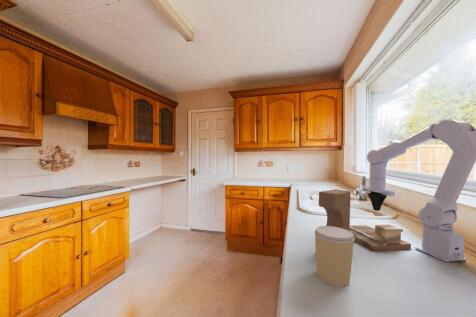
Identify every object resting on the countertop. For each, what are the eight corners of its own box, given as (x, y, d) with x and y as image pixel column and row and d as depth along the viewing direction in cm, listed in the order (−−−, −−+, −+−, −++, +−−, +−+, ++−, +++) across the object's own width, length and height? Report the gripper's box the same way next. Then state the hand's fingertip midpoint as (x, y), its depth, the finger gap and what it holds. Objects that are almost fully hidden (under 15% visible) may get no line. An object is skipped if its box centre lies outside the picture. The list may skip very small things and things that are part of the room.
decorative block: (333, 259, 63) (334, 194, 63) (316, 251, 68) (317, 191, 68) (350, 250, 70) (351, 191, 70) (333, 244, 74) (335, 189, 74)
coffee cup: (340, 267, 58) (341, 225, 58) (361, 289, 49) (363, 238, 49) (308, 267, 58) (309, 225, 58) (323, 289, 48) (324, 238, 48)
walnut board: (410, 248, 72) (410, 243, 72) (373, 251, 69) (373, 245, 69) (365, 229, 91) (365, 224, 91) (335, 230, 89) (335, 226, 89)
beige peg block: (407, 242, 72) (408, 228, 72) (385, 243, 71) (386, 229, 71) (395, 237, 77) (396, 224, 77) (374, 238, 75) (375, 224, 75)
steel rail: (386, 245, 70) (386, 243, 70) (383, 245, 70) (383, 243, 70) (345, 225, 90) (345, 224, 90) (343, 225, 89) (343, 224, 89)
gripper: (401, 180, 81) (400, 214, 81) (371, 176, 95) (371, 206, 95) (386, 180, 80) (385, 215, 80) (358, 176, 94) (357, 206, 94)
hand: (376, 210), depth 88 cm, fingers closed
